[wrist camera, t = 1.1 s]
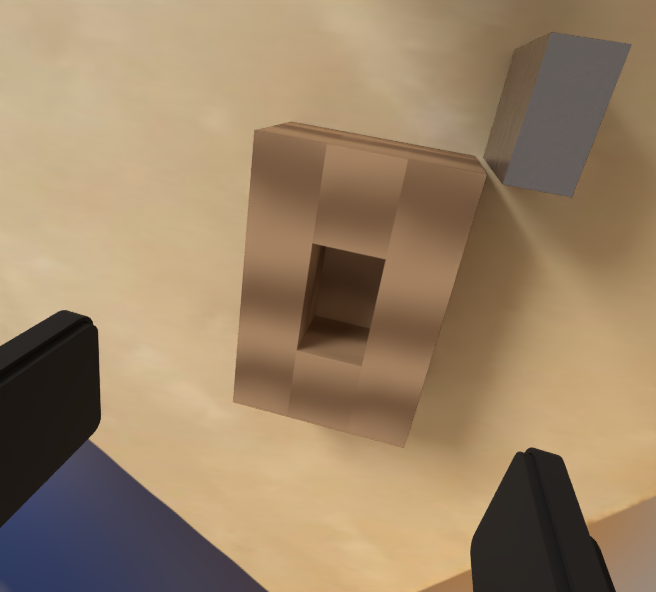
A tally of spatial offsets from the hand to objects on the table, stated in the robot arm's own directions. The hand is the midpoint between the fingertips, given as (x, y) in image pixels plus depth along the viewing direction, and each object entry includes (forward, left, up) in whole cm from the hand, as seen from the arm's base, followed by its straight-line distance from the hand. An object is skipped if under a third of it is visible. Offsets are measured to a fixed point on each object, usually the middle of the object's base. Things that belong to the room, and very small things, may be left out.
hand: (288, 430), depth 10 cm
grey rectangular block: (-7, +7, -24) cm, 25 cm away
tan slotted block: (+5, -1, -23) cm, 24 cm away
